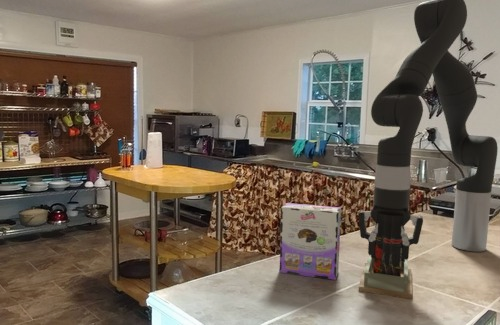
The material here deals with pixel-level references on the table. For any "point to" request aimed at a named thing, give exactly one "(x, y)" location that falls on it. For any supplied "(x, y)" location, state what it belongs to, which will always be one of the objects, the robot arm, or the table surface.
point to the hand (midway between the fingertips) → (387, 258)
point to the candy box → (310, 240)
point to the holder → (386, 281)
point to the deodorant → (388, 244)
